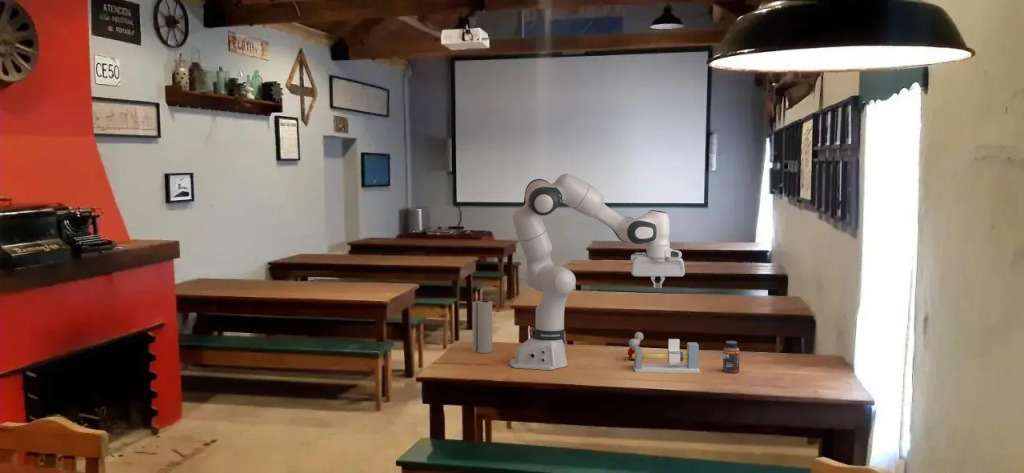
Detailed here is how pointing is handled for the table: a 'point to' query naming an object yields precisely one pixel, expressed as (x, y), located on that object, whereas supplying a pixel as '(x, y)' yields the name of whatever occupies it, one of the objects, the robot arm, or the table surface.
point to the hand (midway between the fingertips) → (657, 287)
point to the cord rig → (682, 368)
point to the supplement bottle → (731, 357)
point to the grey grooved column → (482, 326)
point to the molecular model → (634, 344)
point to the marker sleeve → (674, 352)
